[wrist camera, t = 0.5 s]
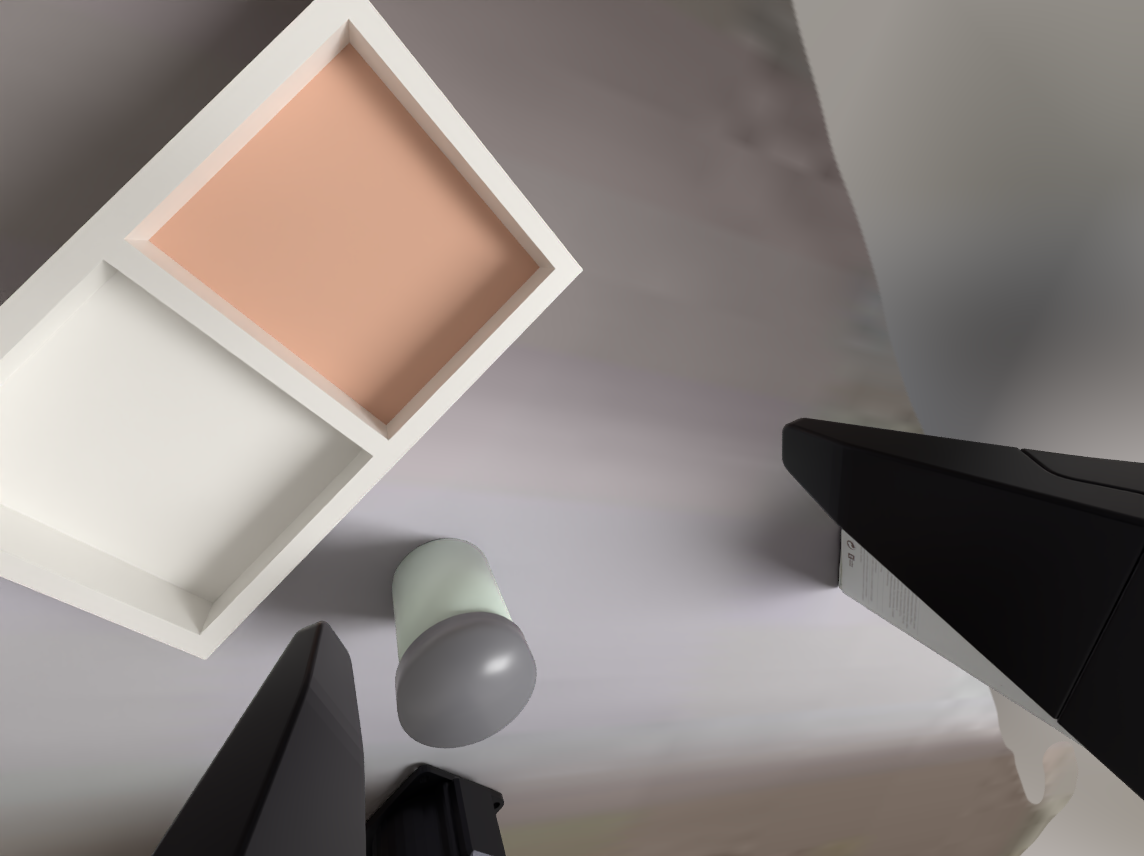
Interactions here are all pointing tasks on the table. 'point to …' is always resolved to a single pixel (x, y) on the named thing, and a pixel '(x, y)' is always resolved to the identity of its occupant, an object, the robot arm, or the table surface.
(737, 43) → the table surface
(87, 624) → the table surface
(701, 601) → the table surface
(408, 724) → the grey mushroom
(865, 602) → the skincare box
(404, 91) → the sorting tray
